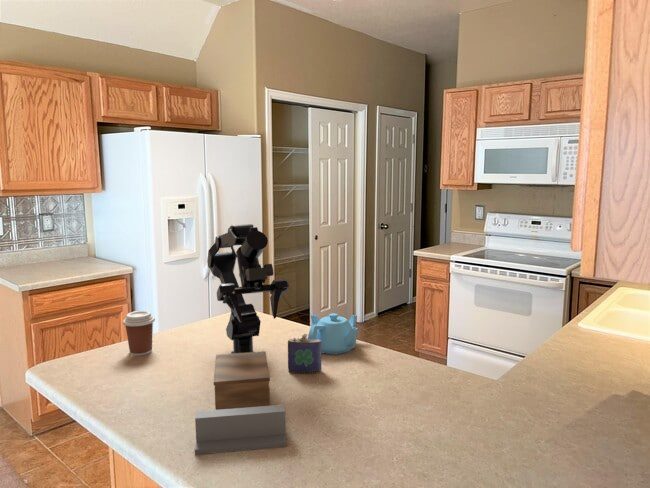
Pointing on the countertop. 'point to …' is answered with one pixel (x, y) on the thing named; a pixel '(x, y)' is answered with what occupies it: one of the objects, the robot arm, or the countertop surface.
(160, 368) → the countertop surface
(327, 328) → the teapot
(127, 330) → the coffee cup
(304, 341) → the flask
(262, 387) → the recipe box
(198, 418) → the gray flanged bar
